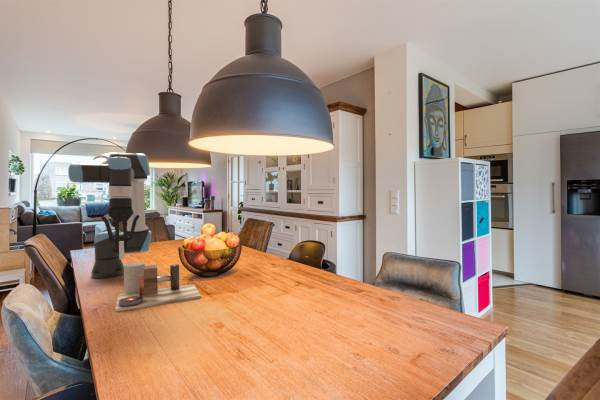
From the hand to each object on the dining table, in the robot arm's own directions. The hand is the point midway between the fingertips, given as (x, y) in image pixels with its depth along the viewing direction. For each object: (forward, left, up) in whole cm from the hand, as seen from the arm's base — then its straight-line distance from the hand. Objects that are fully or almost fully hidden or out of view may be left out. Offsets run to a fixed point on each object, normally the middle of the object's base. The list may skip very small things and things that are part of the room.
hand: (121, 258), depth 118 cm
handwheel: (+4, +4, -17) cm, 17 cm away
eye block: (-1, +13, -18) cm, 22 cm away
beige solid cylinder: (-15, +4, -18) cm, 24 cm away
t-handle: (-6, +14, -17) cm, 22 cm away
